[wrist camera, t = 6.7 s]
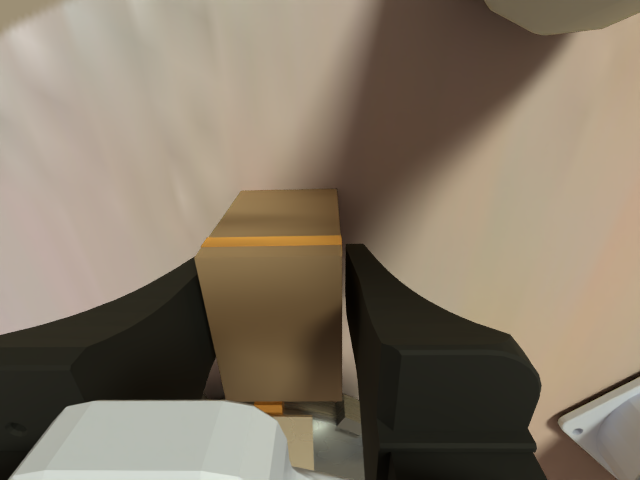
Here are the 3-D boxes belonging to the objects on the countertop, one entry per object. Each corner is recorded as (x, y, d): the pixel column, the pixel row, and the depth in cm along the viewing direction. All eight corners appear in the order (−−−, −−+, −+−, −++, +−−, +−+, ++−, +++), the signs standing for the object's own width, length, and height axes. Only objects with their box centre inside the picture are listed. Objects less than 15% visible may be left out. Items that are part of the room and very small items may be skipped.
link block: (337, 300, 15) (342, 401, 10) (256, 301, 15) (225, 402, 10) (337, 188, 12) (342, 254, 8) (240, 189, 13) (193, 257, 8)
